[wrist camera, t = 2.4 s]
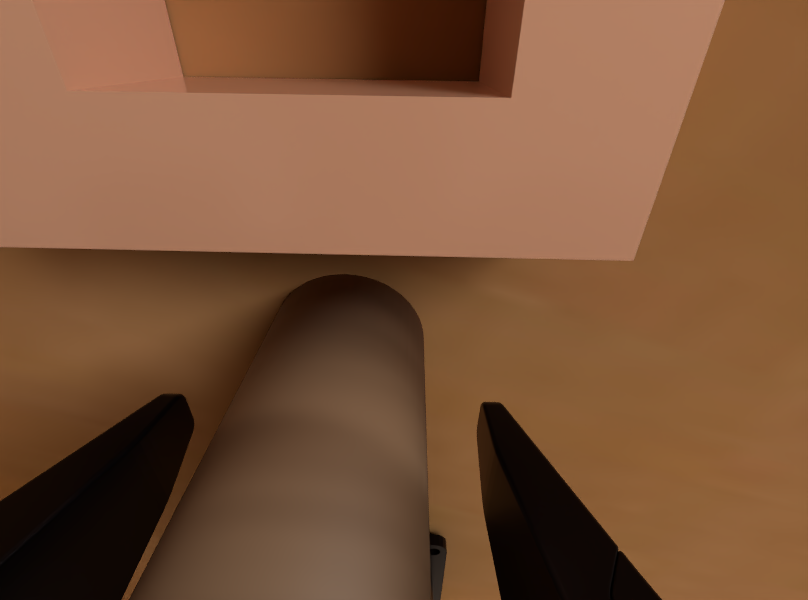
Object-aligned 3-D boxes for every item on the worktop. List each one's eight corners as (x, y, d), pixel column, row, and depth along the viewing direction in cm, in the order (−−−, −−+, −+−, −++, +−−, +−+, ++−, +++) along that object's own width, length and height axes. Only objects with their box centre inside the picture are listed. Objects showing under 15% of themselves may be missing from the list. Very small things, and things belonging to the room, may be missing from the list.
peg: (421, 394, 12) (432, 1009, 4) (286, 391, 12) (63, 990, 4) (426, 276, 10) (468, 1073, 2) (263, 272, 10) (-251, 1037, 2)
